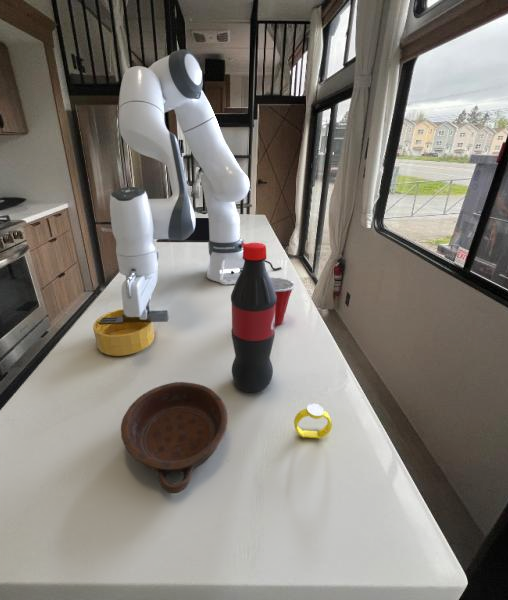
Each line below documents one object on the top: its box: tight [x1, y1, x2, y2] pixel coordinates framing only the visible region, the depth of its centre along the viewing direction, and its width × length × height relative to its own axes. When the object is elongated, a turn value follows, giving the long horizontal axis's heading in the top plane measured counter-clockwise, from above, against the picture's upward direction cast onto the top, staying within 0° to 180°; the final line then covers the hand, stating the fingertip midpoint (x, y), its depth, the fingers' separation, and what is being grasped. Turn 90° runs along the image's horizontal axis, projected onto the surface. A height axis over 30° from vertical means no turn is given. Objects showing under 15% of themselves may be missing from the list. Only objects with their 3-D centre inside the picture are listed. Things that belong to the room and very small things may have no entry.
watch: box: [293, 403, 333, 440], centre depth 54 cm, size 6×3×6 cm, turn 87°
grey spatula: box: [99, 309, 169, 325], centre depth 81 cm, size 17×3×2 cm, turn 90°
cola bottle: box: [230, 242, 277, 393], centre depth 62 cm, size 8×8×30 cm
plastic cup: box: [270, 276, 295, 327], centre depth 89 cm, size 11×11×12 cm
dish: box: [120, 381, 229, 495], centre depth 55 cm, size 18×22×5 cm
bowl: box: [92, 308, 155, 357], centre depth 82 cm, size 14×14×6 cm
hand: (145, 315), depth 80 cm, fingers closed on grey spatula, 2 cm apart
